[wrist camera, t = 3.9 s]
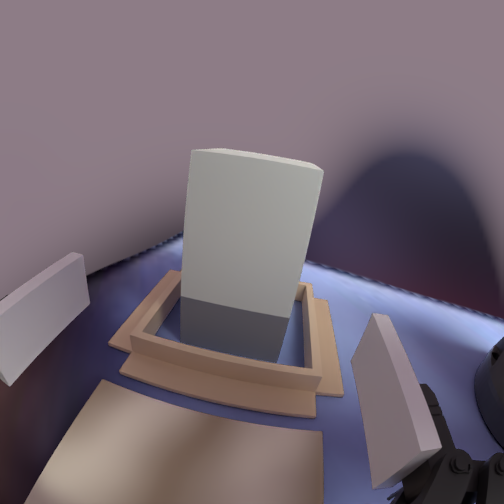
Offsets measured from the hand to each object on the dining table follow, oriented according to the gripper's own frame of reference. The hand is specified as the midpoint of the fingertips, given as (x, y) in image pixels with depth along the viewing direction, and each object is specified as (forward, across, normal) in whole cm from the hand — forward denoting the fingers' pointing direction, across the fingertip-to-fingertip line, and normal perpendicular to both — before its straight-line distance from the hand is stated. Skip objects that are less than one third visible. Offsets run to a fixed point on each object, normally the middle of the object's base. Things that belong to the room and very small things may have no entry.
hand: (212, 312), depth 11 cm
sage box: (+9, 0, -7) cm, 11 cm away
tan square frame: (+9, 0, -7) cm, 11 cm away
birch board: (-7, 0, -7) cm, 10 cm away
